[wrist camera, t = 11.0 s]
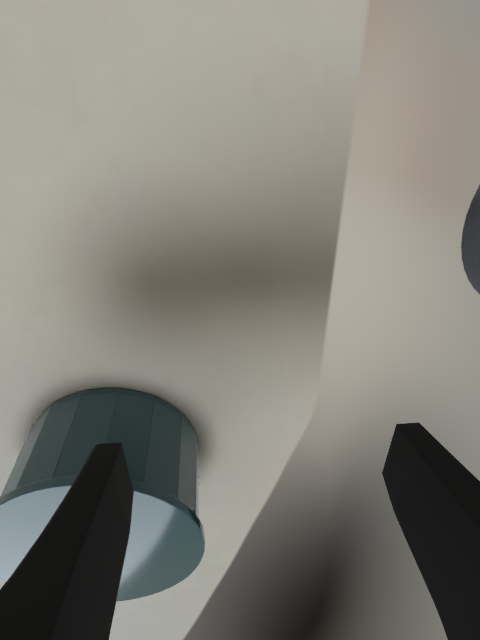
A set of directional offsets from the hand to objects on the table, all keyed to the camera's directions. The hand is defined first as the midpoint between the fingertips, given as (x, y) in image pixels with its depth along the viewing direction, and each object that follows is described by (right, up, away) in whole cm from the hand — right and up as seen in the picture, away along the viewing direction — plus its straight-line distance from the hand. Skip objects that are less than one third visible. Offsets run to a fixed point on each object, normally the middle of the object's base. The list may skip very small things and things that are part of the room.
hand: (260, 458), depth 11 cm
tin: (-8, -4, +15) cm, 17 cm away
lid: (-8, -7, +10) cm, 14 cm away
